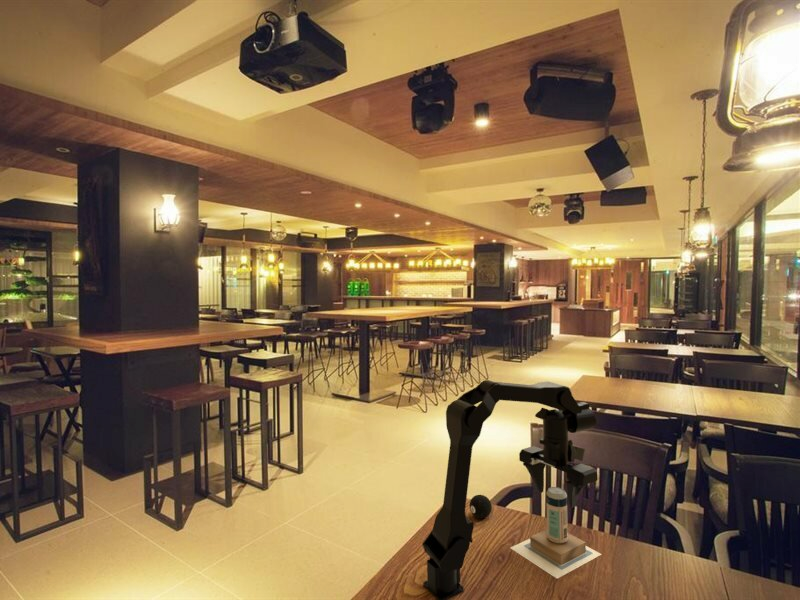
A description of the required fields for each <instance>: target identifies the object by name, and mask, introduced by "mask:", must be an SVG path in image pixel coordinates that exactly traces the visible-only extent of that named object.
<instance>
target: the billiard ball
mask: <svg viewBox="0 0 800 600" xmlns="http://www.w3.org/2000/svg"><path fill="white" fill-rule="evenodd" d="M492 506H493V505H492V502H491V500H490V499H489V498H488V497H487V496H486V495H483V494H476V495H474V496H473V497H472V498H471V499H470V501H469V511H470V513H471V514H472V515H473V516H474V517H475V518H477V519H486V518H488V517H489V516H490V514H491V512H492V509H493V508H492Z"/></svg>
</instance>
